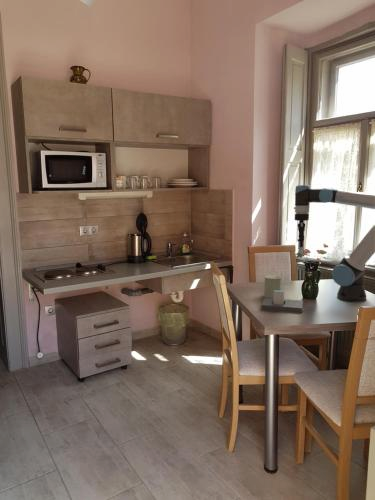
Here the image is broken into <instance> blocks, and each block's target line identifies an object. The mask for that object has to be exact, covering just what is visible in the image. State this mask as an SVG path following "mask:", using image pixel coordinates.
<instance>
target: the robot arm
mask: <svg viewBox="0 0 375 500" xmlns="http://www.w3.org/2000/svg"><path fill="white" fill-rule="evenodd" d="M294 190H295V191H294V207H293V209H294V220H295V221H298V223H297V229H298V230H297V231H298V237H297V243H298V245H297V246H298V247H297V250H298V254H304V252H305V251H304V250H305V228H306V223H305V222H306V221H309V220H310V219H309V217H310V203H323V204H325V203H332V204H338V205H339V204H340V205H346V206H351V207H353V206H354V207H358V208H359V207H360V208H365V209H370V210H371V209H372V210H375V194H373V193H366V192H359V191H352V190H351V191H350V190H344V189H338V188H332V187H328V188H327V187H326V188H325V187H322V188H320V187H319V188H311V187H310V185H309V184H304V185H303V184H300V185H299V184H298V185H295V189H294ZM373 255H375V223H374V224H373V226H371V228H370V229H369V231H368V232H367V233H366V235H364V237H363V238H362V239H361V240H360V242H359V243H358V244H357V246H356V247H355V248H354V249H353V251H351V253H350V254H349V255H345V256H344V257H342V259H341V260H340V262H339V263H338V264H336V266H334V267H333V268H332V270H331V278H332V280H333V281H334V283H336V284H337V285H338V286H339V289H338V291H337V293H336V298H337V299H339V300H341V301H344V302H351V301H362V302H365V301H367V293H366V289H365V285H364V283H365V271H366V269H365V268H366V264H367V263H368V261H369V260H370V259H371V258H372V256H373ZM364 300H365V301H364Z"/></svg>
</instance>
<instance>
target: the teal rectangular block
mask: <svg viewBox="0 0 375 500" xmlns="http://www.w3.org/2000/svg"><path fill="white" fill-rule="evenodd" d="M284 299H285V290H281V289H280V290H274V292H273V304H278V305H284Z"/></svg>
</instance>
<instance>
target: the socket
mask: <svg viewBox="0 0 375 500" xmlns="http://www.w3.org/2000/svg"><path fill="white" fill-rule="evenodd" d="M303 302H304V300H302V299H301V300H298V299H287V298H286V299H285V298H284V305H278V304H273V298H266V297H264V298H263V301H262V303H261V309H260V310H262V311H273V312H283V313H284V312H285V313H295V314H296V313H298V314H303V307H304V306H303V304H304V303H303Z"/></svg>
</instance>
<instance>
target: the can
mask: <svg viewBox="0 0 375 500" xmlns="http://www.w3.org/2000/svg"><path fill="white" fill-rule="evenodd" d="M281 280H282V277H281V276H280V275H273V274H269V275H265V276H264V290H263V291H264V292H263V297H264V298H273V292H274V290H281Z"/></svg>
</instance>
